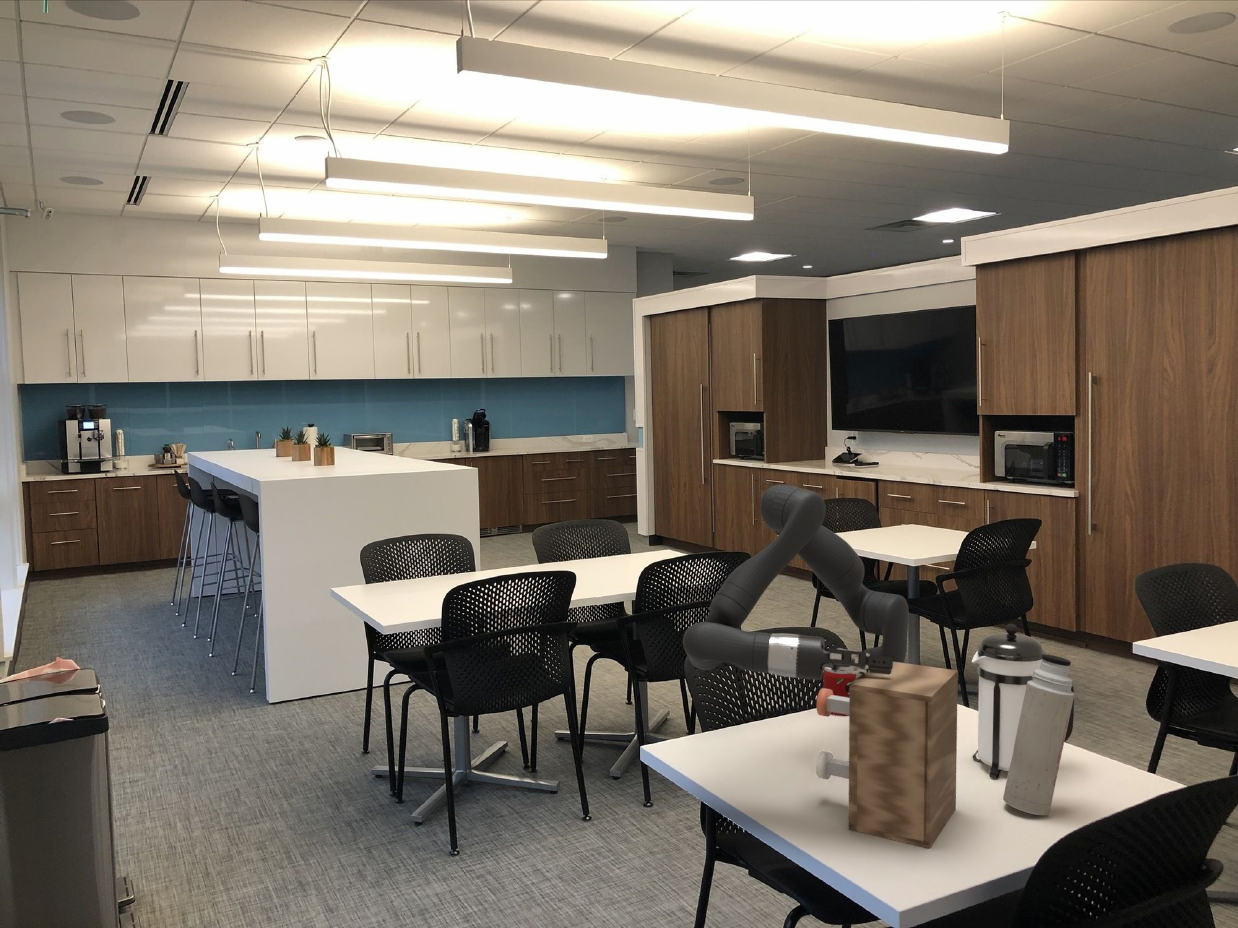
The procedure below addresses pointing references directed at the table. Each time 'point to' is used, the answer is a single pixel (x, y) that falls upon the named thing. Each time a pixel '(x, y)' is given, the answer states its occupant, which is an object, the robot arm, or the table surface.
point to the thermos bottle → (1040, 737)
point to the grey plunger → (831, 766)
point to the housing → (903, 753)
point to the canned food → (838, 684)
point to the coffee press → (1004, 693)
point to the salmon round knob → (831, 703)
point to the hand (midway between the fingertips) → (891, 666)
